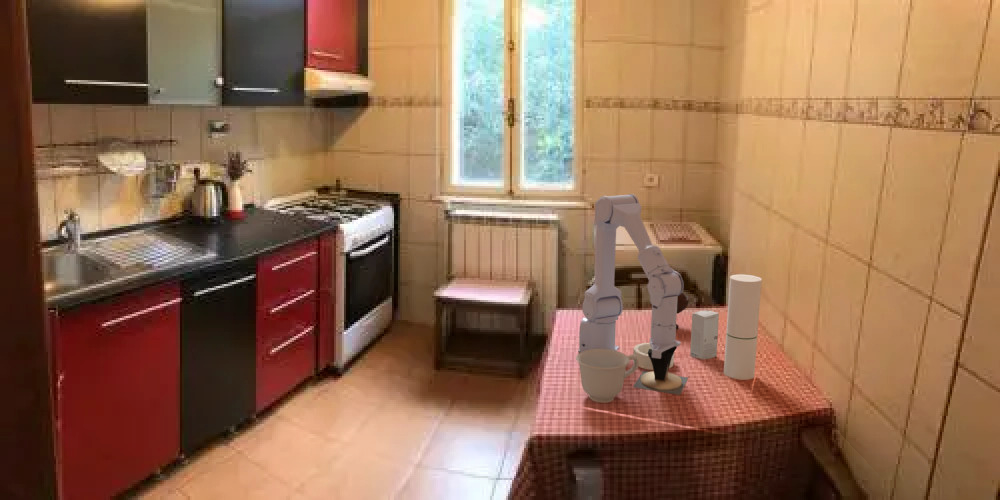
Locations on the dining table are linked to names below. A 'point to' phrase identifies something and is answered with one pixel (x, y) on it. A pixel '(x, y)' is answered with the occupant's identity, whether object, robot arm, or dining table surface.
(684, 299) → the ice cream bowl
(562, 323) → the dining table surface
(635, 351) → the bowl
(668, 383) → the lid
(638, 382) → the mat
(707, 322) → the skincare box
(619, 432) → the dining table surface
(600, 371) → the teacup
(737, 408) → the dining table surface
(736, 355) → the cylindrical container
